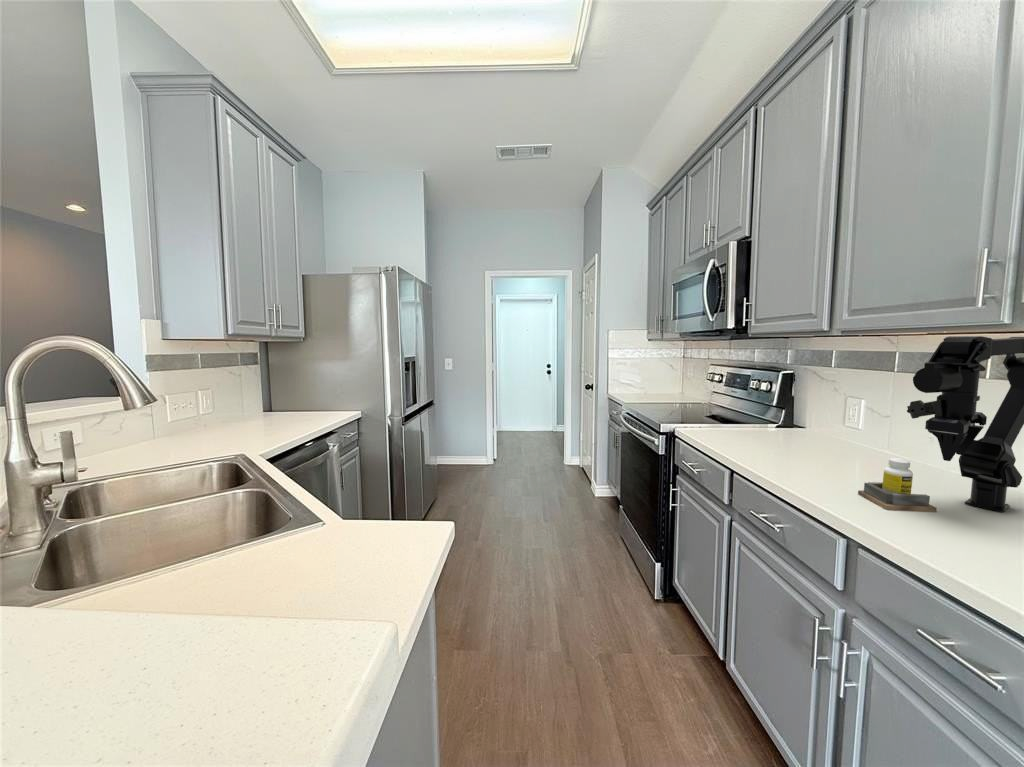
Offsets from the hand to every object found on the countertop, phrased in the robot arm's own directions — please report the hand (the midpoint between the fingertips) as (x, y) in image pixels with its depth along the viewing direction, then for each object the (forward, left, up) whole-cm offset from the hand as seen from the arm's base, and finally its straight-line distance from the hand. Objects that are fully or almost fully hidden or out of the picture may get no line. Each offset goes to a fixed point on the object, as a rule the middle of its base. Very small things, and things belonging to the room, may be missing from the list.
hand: (953, 457), depth 101 cm
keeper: (+3, -9, -13) cm, 16 cm away
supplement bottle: (+3, -9, -12) cm, 15 cm away
